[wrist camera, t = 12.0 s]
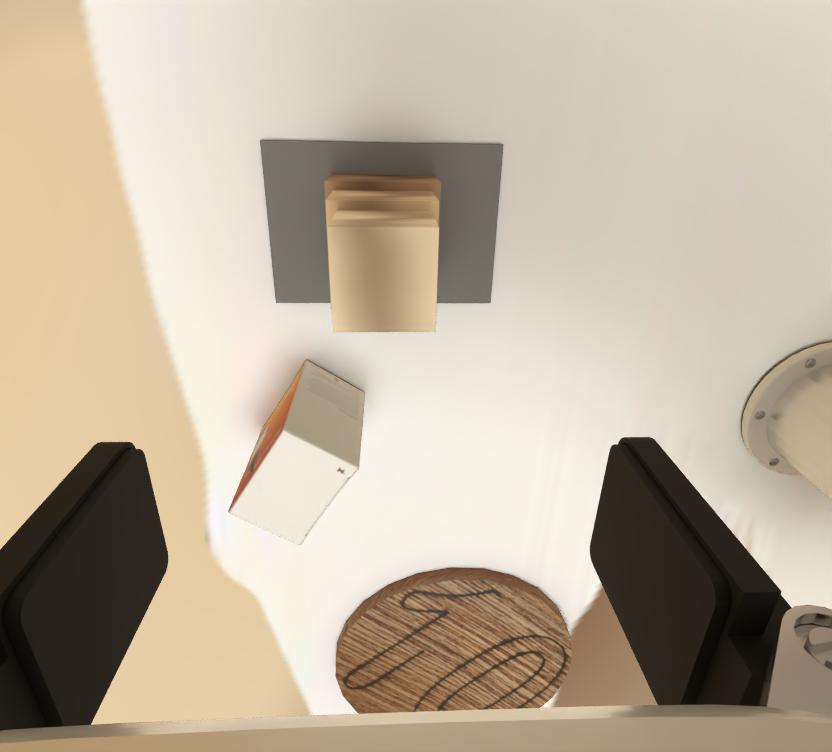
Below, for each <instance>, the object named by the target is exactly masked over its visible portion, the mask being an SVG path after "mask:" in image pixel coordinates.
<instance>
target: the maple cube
mask: <svg viewBox="0 0 832 752" xmlns="http://www.w3.org/2000/svg"><path fill="white" fill-rule="evenodd" d="M327 231H328V249H329V268H330V287H331V305H332V324H333V332H436V304H437V275H438V246H439V226H438V224H437V222H436V220H435V218H434V216H433V214H432V212H431V211H416V210H336V212H335V214H334V216H333V217H332V219H331V221H330V223H329V225H328V226H327Z"/></svg>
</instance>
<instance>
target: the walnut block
mask: <svg viewBox="0 0 832 752" xmlns="http://www.w3.org/2000/svg"><path fill="white" fill-rule="evenodd" d="M324 187H325V200H326V199H327V197H328V196H329V195H330V193H331V192H332V191H333V190H376V191H433V193H434V194H435V196H436V197H437V199H438V200H439V221H438V226H439V228H440V200H441V182H440V181H439V180H438V178H437V177H436V176H426V175H358V174H331V175H330V176H329V177H328V178H327V179H326V180H325V181H324ZM325 206H326V203H325ZM326 225H327V222H326ZM327 244H328V241H327ZM438 255H439V246H438ZM328 263H329V260H328ZM329 282H330V279H329ZM437 283H438V275H437Z"/></svg>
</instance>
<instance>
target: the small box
mask: <svg viewBox="0 0 832 752" xmlns="http://www.w3.org/2000/svg"><path fill="white" fill-rule="evenodd" d="M364 399H365V393H364V392H362V391H361V390H359V389H357V388H355V387H353V386H352V385H350V384H348V383H346V382H345V381H343V380H341V379H339V378H338V377H336V376H334V375H332V374H330V373H329V372H327V371H325V370H323V369H322V368H320V367H318V366H316V365H315V364H313V363H311V362H309V361H307V360H306V361H305V362H304V364H303V366H302V367H301V369H300V371H299V372H298V374H297V376H296V377H295V379H294V381H293V382H292V384H291V385H290V387H289V389H288V390H287V392H286V393H285V395H284V396H283V398H282V399H281V401H280V402H279V404H278V405H277V407H276V408H275V410H274V411H273V413H272V414H271V416H270V417H269V419H268V421H267V422H266V424H265V425H264V427H263V428H262V430H261V433H260V435H259V438H258V440H257V443H256V445H255V448H254V450H253V452H252V455H251V457H250V460H249V462H248V465H247V468H246V470H245V472H244V475H243V477H242V479H241V482H240V484H239V487H238V489H237V491H236V494H235V496H234V499H233V501H232V504H231V506H230V509H229V511H228V512H229V513H230V514H233V515H235V516H237V517H239V518H241V519H243V520H245V521H247V522H249V523H252V524H254V525H256V526H258V527H260V528H262V529H265V530H267V531H269V532H271V533H273V534H275V535H278V536H280V537H282V538H284V539H286V540H289V541H291V542H293V543H295V544H297V545H301V544H302V543H303V541H304V539H305V538H306V536H307V535H308V533H309V532H310V531H311V529H312V528H313V526H314V525H315V524H316V522H317V521H318V520H319V518H320V517H321V516H322V514H323V513H324V512H325V510H326V509H327V508H328V506H329V505H330V504H331V502H332V501H333V500H334V498H335V497H336V496H337V494H338V493H339V492H340V490H341V489H342V488H343V487H344V486H345V484H346V483H347V482H348V480H349V479H350V478H351V477H352V476H353V475H354V474H355V472H356V471H357V470H358V469H359V461H360V448H361V437H362V426H363V413H364Z"/></svg>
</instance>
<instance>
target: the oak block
mask: <svg viewBox="0 0 832 752" xmlns="http://www.w3.org/2000/svg"><path fill="white" fill-rule="evenodd" d="M325 203H326V222H327V226H328V225H329V223H330V221H331V219H332V217H333V216H334V214H335V212H336V210H416V211H431V212H432V214H433V216H434V218H435V220H436V222H437V224H438V221H439V200H438V199H437V197H436V196H435V194H434V193H433V191H376V190H333V191H332V192H331V193H330V195H329V196H328V197H327V199H326V200H325ZM327 241H328V231H327ZM328 260H329V249H328ZM329 279H330V268H329ZM330 299H331V287H330ZM331 309H332V305H331Z"/></svg>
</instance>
